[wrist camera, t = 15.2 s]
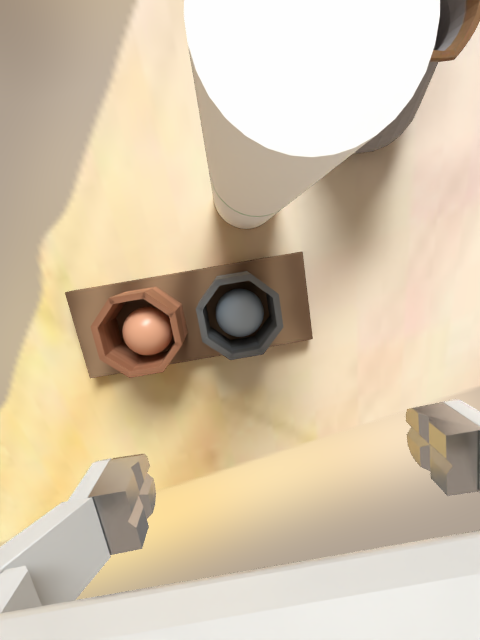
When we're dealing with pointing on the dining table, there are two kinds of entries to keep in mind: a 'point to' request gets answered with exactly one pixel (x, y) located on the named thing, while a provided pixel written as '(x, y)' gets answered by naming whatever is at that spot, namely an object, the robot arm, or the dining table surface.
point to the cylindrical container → (298, 89)
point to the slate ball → (239, 312)
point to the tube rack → (192, 314)
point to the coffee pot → (434, 62)
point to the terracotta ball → (147, 331)
